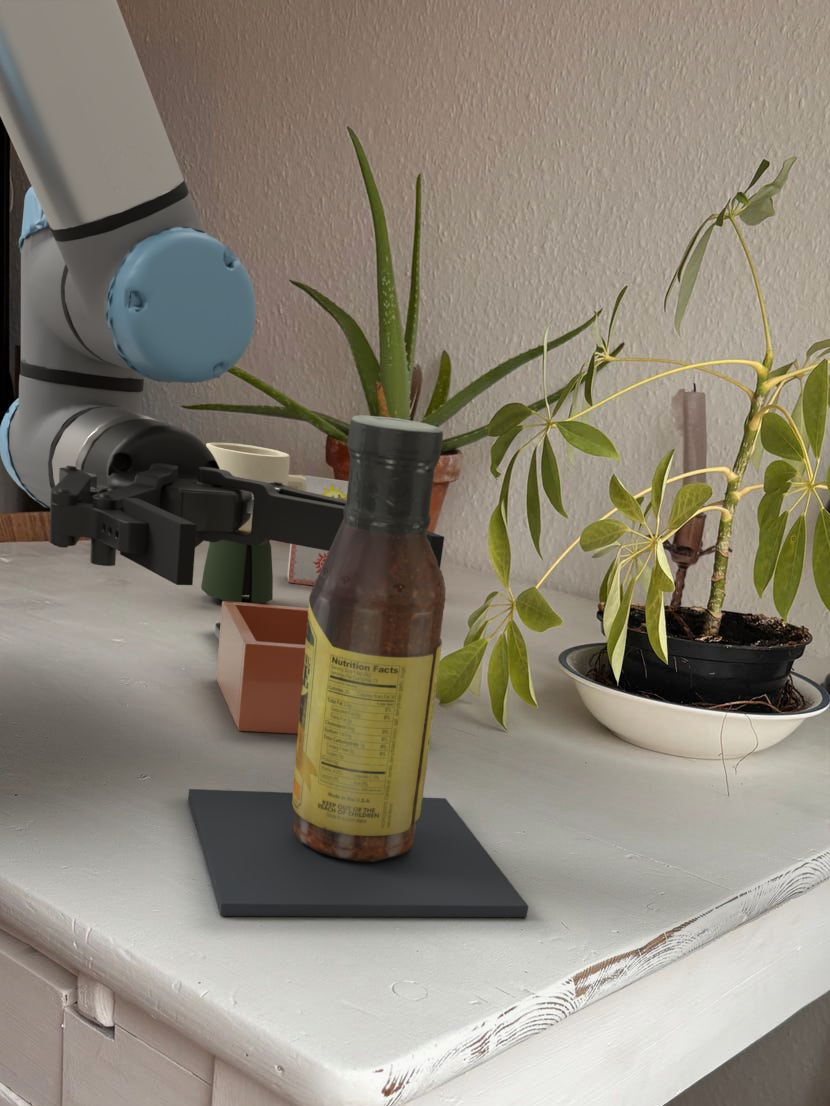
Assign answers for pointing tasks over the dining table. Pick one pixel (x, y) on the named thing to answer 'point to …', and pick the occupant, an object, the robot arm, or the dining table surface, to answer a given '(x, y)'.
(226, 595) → the character mug
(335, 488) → the white red box
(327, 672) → the sauce bottle
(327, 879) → the mat
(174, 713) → the dining table surface
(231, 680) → the holder
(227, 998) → the dining table surface
